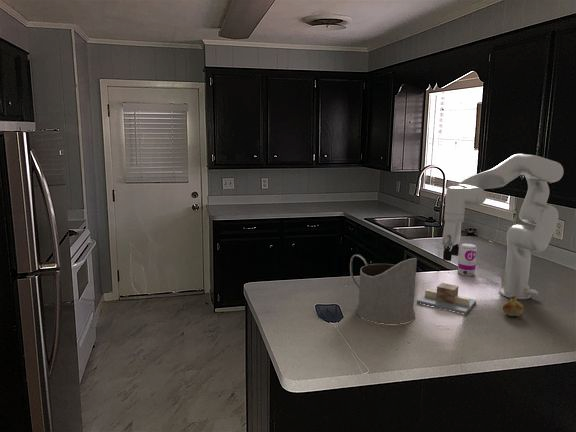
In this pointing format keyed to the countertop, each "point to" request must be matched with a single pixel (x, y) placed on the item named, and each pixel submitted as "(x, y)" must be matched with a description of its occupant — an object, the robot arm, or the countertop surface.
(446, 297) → the saddle block
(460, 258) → the supplement can
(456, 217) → the robot arm
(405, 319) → the pitcher
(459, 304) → the cleat board
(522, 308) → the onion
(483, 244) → the countertop surface
